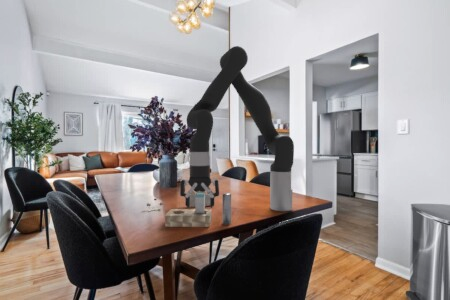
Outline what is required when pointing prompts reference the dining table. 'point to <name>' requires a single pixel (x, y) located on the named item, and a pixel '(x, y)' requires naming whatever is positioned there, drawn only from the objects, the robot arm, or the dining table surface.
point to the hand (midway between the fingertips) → (200, 207)
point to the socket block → (187, 218)
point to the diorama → (150, 205)
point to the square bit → (200, 203)
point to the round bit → (226, 208)
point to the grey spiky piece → (192, 199)
